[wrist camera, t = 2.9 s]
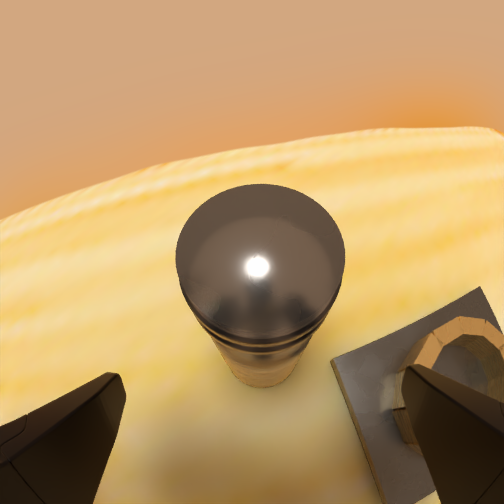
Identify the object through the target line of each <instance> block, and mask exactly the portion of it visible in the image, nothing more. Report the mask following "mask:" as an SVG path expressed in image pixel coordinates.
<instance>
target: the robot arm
mask: <svg viewBox="0 0 504 504" xmlns="http://www.w3.org/2000/svg"><path fill="white" fill-rule="evenodd" d="M401 393H402V397H403V400H404V403H405V406H406V410H407V413H408V417H409V420H410V424H411V427H412V430H413V432H414V435H415V437H416V440H417V442H418V444H419V447H420V449H421V452H422V454H423V457H424V459H425V462H426V464H427V467H428V470H429V472H430V475H431V477H432V480H433V483H434V485H435V488H436V491H437V494H438V496H439V499H440V502H441V504H504V403H503V402H501V401H500V402H499V400H497V399H494V398H492V397H490V396H488V395H485V394H483V393H481V392H479V391H477V390H474V389H472V388H470V387H468V386H466V385H464V384H461V383H459V382H457V381H455V380H453V379H451V378H448V377H446V376H444V375H442V374H440V373H438V372H436V371H433V370H431V369H429V368H427V367H425V366H423V365H421V364H412V365H408V366H407V367H406V369H405V373H404V376H403V380H402V384H401ZM125 402H126V392H125V389H124V386H123V383H122V379H121V377H120V375H119V374H118V373H111V372H107V373H105V374H103V375H101V376H99V377H97V378H95V379H94V380H92V381H90V382H88V383H86V384H84V385H82V386H80V387H79V388H77V389H75V390H73V391H71V392H69V393H67V394H65V395H63V396H61V397H59V398H58V399H56V400H54V401H52V402H50V403H48V404H46V405H44V406H42V407H40V408H38V409H36V410H34V411H32V412H30V413H28V415H24V416H22V417H20V418H18V419H16V420H14V421H12V422H9V423H7V424H5V425H2V426H0V504H93V502H94V499H95V496H96V493H97V490H98V487H99V484H100V481H101V478H102V475H103V473H104V470H105V467H106V464H107V462H108V459H109V456H110V453H111V451H112V448H113V445H114V443H115V440H116V437H117V433H118V429H119V425H120V421H121V417H122V413H123V409H124V405H125Z"/></svg>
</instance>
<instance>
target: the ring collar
mask: <svg viewBox="0 0 504 504" xmlns="http://www.w3.org/2000/svg"><path fill="white" fill-rule="evenodd" d="M330 362H331V365H332V367H333V370H334V372H335V375H336V378H337V380H338V383H339V385H340V388H341V390H342V393H343V396H344V398H345V401H346V403H347V406H348V409H349V411H350V414H351V417H352V419H353V422H354V424H355V427H356V430H357V433H358V435H359V438H360V441H361V443H362V446H363V449H364V452H365V454H366V457H367V460H368V463H369V465H370V468H371V471H372V474H373V477H374V479H375V482H376V485H377V488H378V491H379V494H380V497H381V499H382V502H383V504H414V503H416V502H418V501H419V500H421V499H423V498H424V497H426V496H427V495H429V494H430V493H432V492H434V491H435V490H436V488H435V485H434V483H433V480H432V477H431V475H430V472H429V470H428V467H427V464H426V462H425V459H424V457H423V454H422V452H421V449H420V447H419V444H418V442H417V440H416V437H415V435H414V432H413V430H412V427H411V424H410V420H409V417H408V413H407V410H406V406H405V403H404V400H403V397H402V393H401V384H402V380H403V376H404V373H405V369H406V367H407V366H408V365H412V364H421V365H423V366H425V367H427V368H429V369H431V370H433V371H436V372H438V373H440V374H442V375H444V376H446V377H448V378H451V379H453V380H455V381H457V382H459V383H461V384H464V385H466V386H468V387H470V388H472V389H474V390H477V391H479V392H481V393H483V394H485V395H488V396H490V397H492V398H494V399H497V400H499V402H500V401H501V402H503V403H504V335H503V333H502V331H501V328H500V326H499V324H498V322H497V320H496V317H495V315H494V313H493V311H492V309H491V307H490V305H489V303H488V301H487V299H486V297H485V295H484V293H483V291H482V289H481V287H480V286H479V287H478V288H476V289H474V290H473V291H471V292H469V293H468V294H466V295H464V296H462V297H461V298H459V299H457V300H456V301H454V302H452V303H450V304H448V305H447V306H445V307H443V308H441V309H439V310H437V311H436V312H434V313H432V314H430V315H428V316H426V317H424V318H422V319H420V320H418V321H416V322H414V323H412V324H410V325H408V326H406V327H404V328H402V329H400V330H398V331H396V332H394V333H392V334H389V335H387V336H385V337H383V338H381V339H379V340H376V341H374V342H372V343H370V344H367V345H365V346H363V347H360V348H358V349H356V350H353V351H351V352H348V353H346V354H344V355H341V356H339V357H336V358H334V359H332V360H331V361H330Z"/></svg>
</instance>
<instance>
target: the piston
mask: <svg viewBox="0 0 504 504" xmlns="http://www.w3.org/2000/svg"><path fill="white" fill-rule="evenodd" d="M344 265H345V248H344V242H343V239H342V236H341V233H340V231H339V228H338V226H337V224H336V223H335V221H334V220H333V218H332V217H331V216H330V215H329V213H328V212H327V211H326V210H325V209H324V208H323V207H322V206H321V205H320V204H318V203H317V202H316V201H314V200H313V199H312V198H310V197H308V196H306V195H305V194H303V193H300V192H298V191H296V190H293V189H290V188H287V187H283V186H278V185H270V184H252V185H244V186H239V187H235V188H232V189H229V190H226V191H224V192H221V193H219V194H217V195H215V196H214V197H212V198H210V199H209V200H207V201H206V202H204V203H203V204H202V205H201V206H200V207H199V208H197V209H196V210H195V211H194V213H193V214H192V215H191V216H190V217H189V219H188V220H187V222H186V223H185V225H184V227H183V229H182V231H181V233H180V236H179V239H178V242H177V247H176V268H177V273H178V277H179V281H180V286H181V289H182V293H183V295H184V297H185V299H186V302H187V304H188V305H189V307H190V309H191V310H192V312H193V313H194V315H195V317H196V319H197V320H198V322H199V323H200V325H201V326H202V328H203V329H204V330H205V331H206V332H207V333H208V334H209V335H210V336H211V338H212V340H213V341H214V343H215V345H216V346H217V348H218V350H219V351H220V353H221V355H222V356H223V358H224V359H225V361H226V363H227V364H228V366H229V368H230V369H231V371H232V372H233V374H234V375H235V376H236V377H237V378H238V379H239V380H240V381H242V382H243V383H245V384H247V385H249V386H253V387H258V388H266V387H271V386H274V385H277V384H279V383H281V382H282V381H284V380H285V379H286V378H287V377H288V376H289V375H290V373H291V372H292V370H293V369H294V367H295V365H296V363H297V362H298V360H299V358H300V357H301V355H302V353H303V351H304V349H305V348H306V346H307V344H308V342H309V340H310V339H311V337H312V335H313V334H314V333H315V332H316V331H317V329H318V328H319V327H320V325H321V324H322V323H323V321H324V319H325V318H326V316H327V314H328V312H329V310H330V309H331V307H332V305H333V303H334V301H335V299H336V297H337V295H338V292H339V289H340V286H341V282H342V276H343V272H344Z"/></svg>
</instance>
